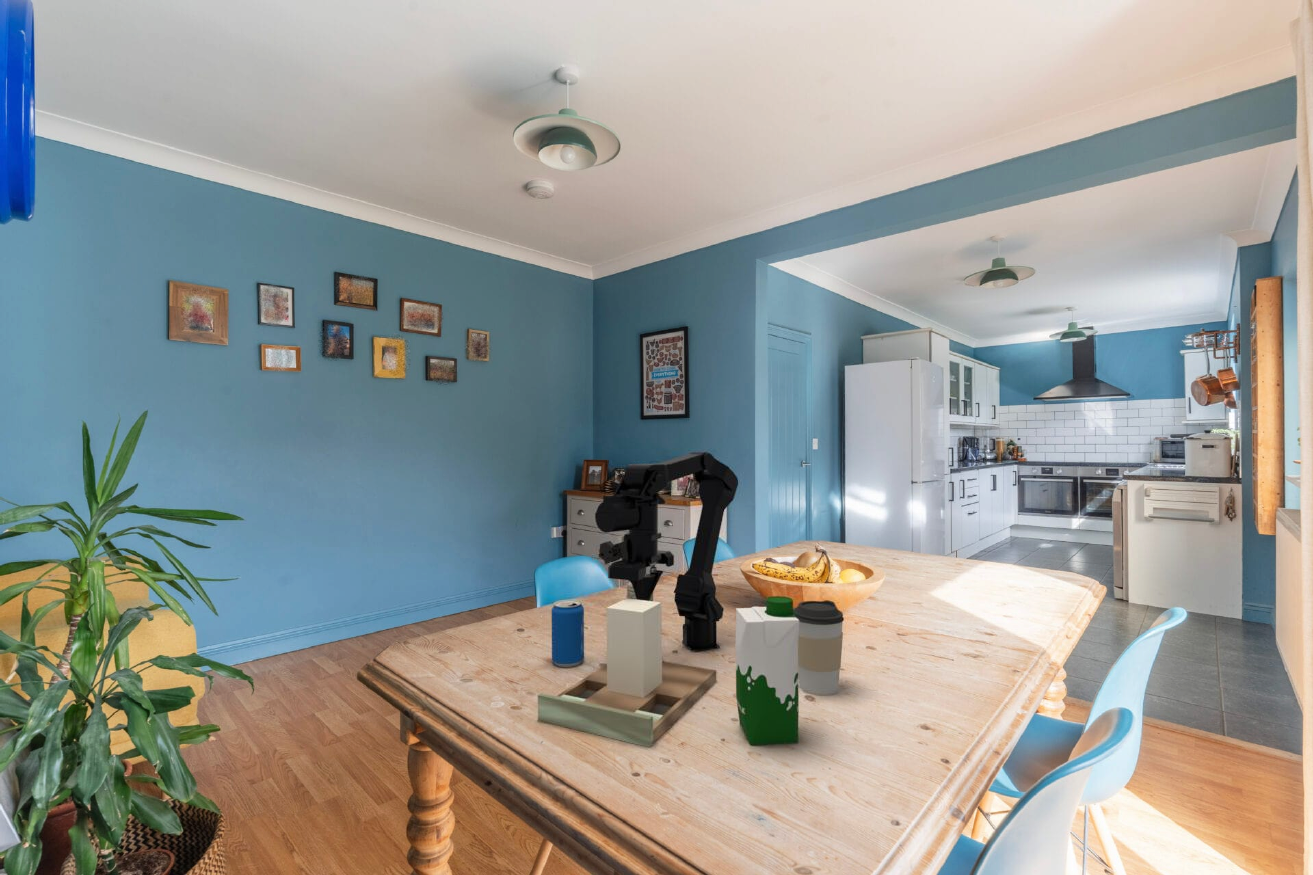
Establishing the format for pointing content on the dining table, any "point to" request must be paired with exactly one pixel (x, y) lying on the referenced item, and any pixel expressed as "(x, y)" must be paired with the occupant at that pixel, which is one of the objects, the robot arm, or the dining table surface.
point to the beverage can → (567, 633)
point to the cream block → (634, 647)
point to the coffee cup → (819, 646)
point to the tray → (627, 704)
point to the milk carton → (768, 672)
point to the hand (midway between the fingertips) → (642, 608)
